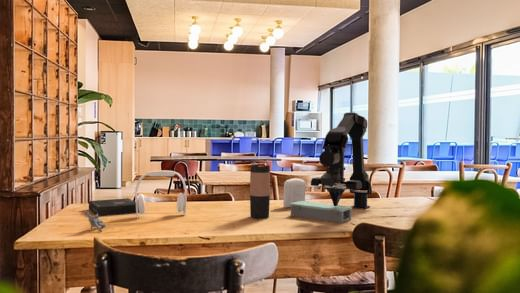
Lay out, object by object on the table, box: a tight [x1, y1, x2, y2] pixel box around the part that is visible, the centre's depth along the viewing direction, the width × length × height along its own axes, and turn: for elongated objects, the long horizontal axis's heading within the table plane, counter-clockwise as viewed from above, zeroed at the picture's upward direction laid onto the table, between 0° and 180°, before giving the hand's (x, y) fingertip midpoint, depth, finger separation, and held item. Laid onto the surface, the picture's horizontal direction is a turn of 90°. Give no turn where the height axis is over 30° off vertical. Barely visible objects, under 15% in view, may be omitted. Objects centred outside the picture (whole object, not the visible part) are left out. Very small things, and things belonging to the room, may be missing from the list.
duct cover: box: [290, 200, 353, 215], centre depth 184 cm, size 9×22×2 cm, turn 55°
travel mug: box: [249, 164, 271, 220], centre depth 184 cm, size 8×8×20 cm
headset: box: [134, 169, 188, 220], centre depth 184 cm, size 20×7×18 cm, turn 108°
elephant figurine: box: [84, 210, 107, 233], centre depth 160 cm, size 10×6×9 cm
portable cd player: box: [88, 197, 140, 217], centre depth 195 cm, size 16×17×4 cm
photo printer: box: [283, 177, 306, 208], centre depth 209 cm, size 10×4×12 cm, turn 123°
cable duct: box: [290, 206, 352, 224], centre depth 185 cm, size 8×22×4 cm, turn 55°
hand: (335, 206), depth 180 cm, fingers closed
